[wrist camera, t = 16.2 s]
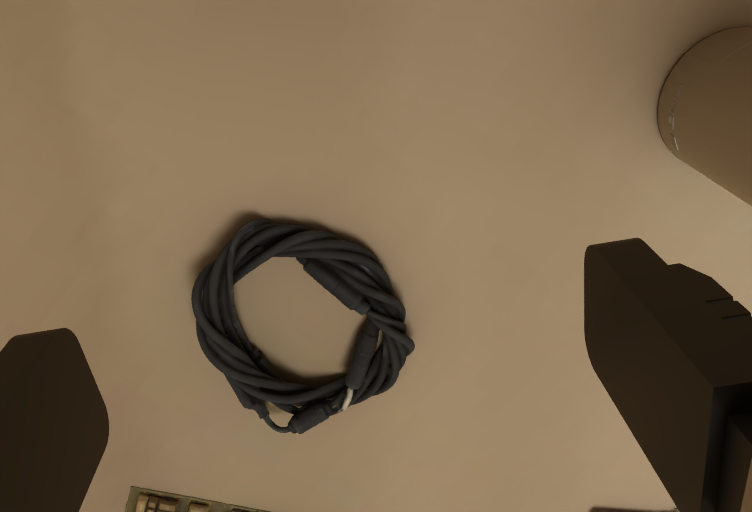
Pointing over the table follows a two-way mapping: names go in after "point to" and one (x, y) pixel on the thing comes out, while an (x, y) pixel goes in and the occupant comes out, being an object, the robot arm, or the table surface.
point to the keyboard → (176, 503)
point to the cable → (337, 275)
